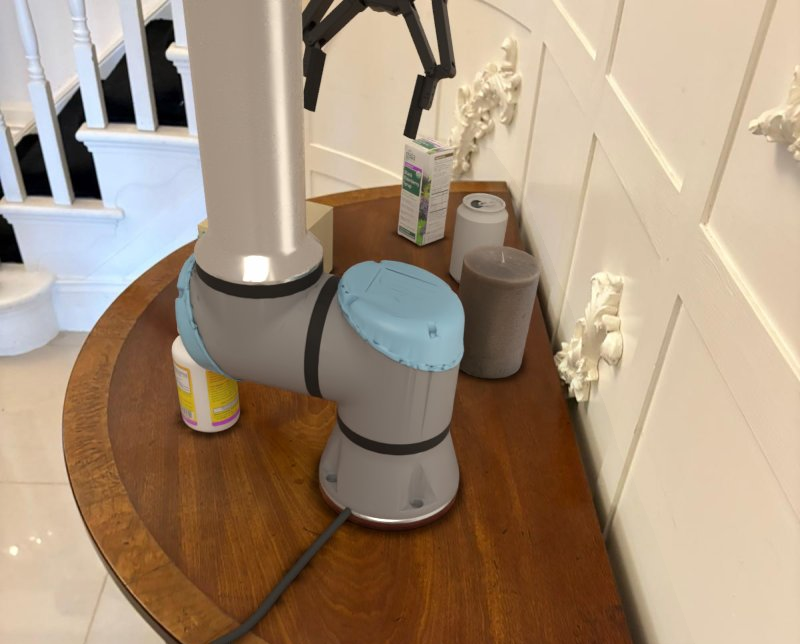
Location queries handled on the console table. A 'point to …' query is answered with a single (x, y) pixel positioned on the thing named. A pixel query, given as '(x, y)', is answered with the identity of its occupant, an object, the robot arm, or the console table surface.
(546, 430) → the console table surface
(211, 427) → the supplement bottle
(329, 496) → the robot arm
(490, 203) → the can
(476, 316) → the pillar candle
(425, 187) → the syrup box
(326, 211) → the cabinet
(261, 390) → the console table surface
